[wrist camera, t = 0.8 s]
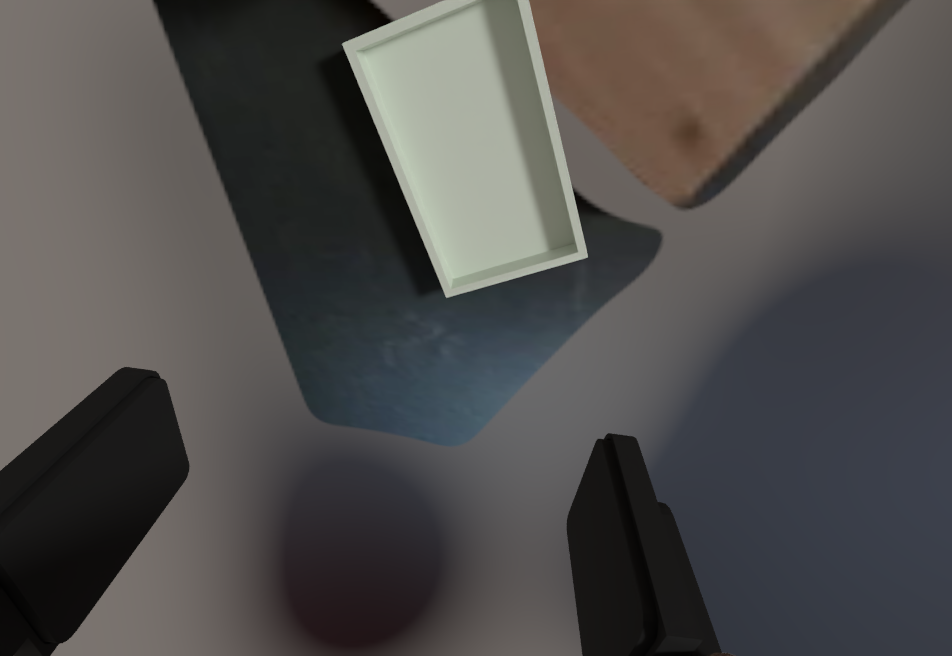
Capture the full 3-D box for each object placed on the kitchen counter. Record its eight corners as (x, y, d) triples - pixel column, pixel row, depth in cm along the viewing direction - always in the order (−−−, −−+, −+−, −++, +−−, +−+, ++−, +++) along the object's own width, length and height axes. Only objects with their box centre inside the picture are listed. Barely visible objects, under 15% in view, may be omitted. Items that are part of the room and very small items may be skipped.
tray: (353, 44, 30) (341, 43, 28) (519, -27, 28) (521, -33, 26) (449, 284, 39) (446, 297, 37) (583, 245, 36) (588, 257, 34)
